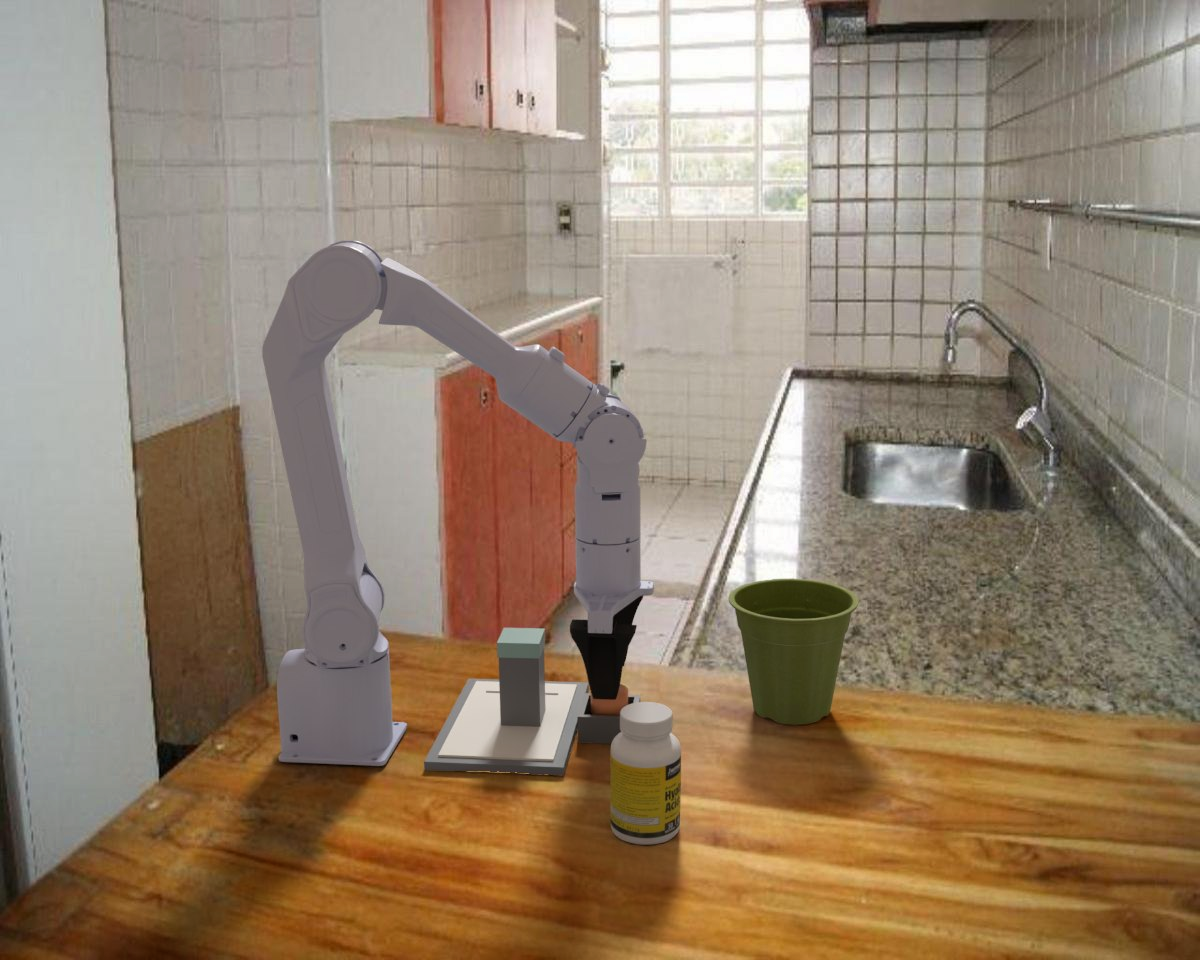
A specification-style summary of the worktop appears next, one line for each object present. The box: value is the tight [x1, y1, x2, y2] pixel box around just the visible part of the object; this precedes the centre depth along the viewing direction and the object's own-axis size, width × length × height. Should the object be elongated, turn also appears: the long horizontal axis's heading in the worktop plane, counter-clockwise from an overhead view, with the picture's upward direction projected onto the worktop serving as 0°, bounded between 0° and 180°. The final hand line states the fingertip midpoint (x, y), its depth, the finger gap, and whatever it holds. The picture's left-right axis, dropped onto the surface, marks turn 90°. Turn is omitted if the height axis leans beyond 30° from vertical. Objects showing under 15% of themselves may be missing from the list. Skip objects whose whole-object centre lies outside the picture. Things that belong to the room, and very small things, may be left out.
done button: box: [591, 683, 629, 716], centre depth 111 cm, size 3×3×2 cm
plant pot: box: [728, 578, 860, 726], centre depth 115 cm, size 12×12×11 cm
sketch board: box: [423, 678, 590, 777], centre depth 113 cm, size 12×18×1 cm, turn 174°
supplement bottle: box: [609, 701, 682, 846], centre depth 94 cm, size 5×5×10 cm
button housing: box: [577, 692, 641, 745], centre depth 112 cm, size 5×5×2 cm
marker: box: [496, 627, 546, 727], centre depth 112 cm, size 4×4×8 cm
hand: (609, 680), depth 111 cm, fingers open, 7 cm apart
